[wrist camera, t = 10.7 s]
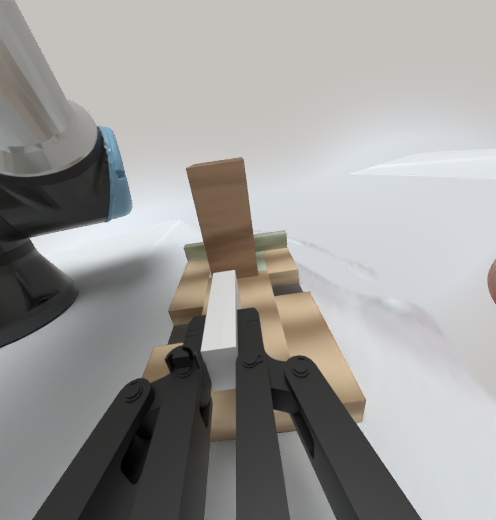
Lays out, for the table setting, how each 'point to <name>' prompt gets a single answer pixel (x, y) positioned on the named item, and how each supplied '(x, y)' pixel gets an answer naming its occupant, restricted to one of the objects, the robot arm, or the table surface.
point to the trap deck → (272, 326)
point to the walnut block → (224, 215)
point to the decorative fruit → (492, 281)
